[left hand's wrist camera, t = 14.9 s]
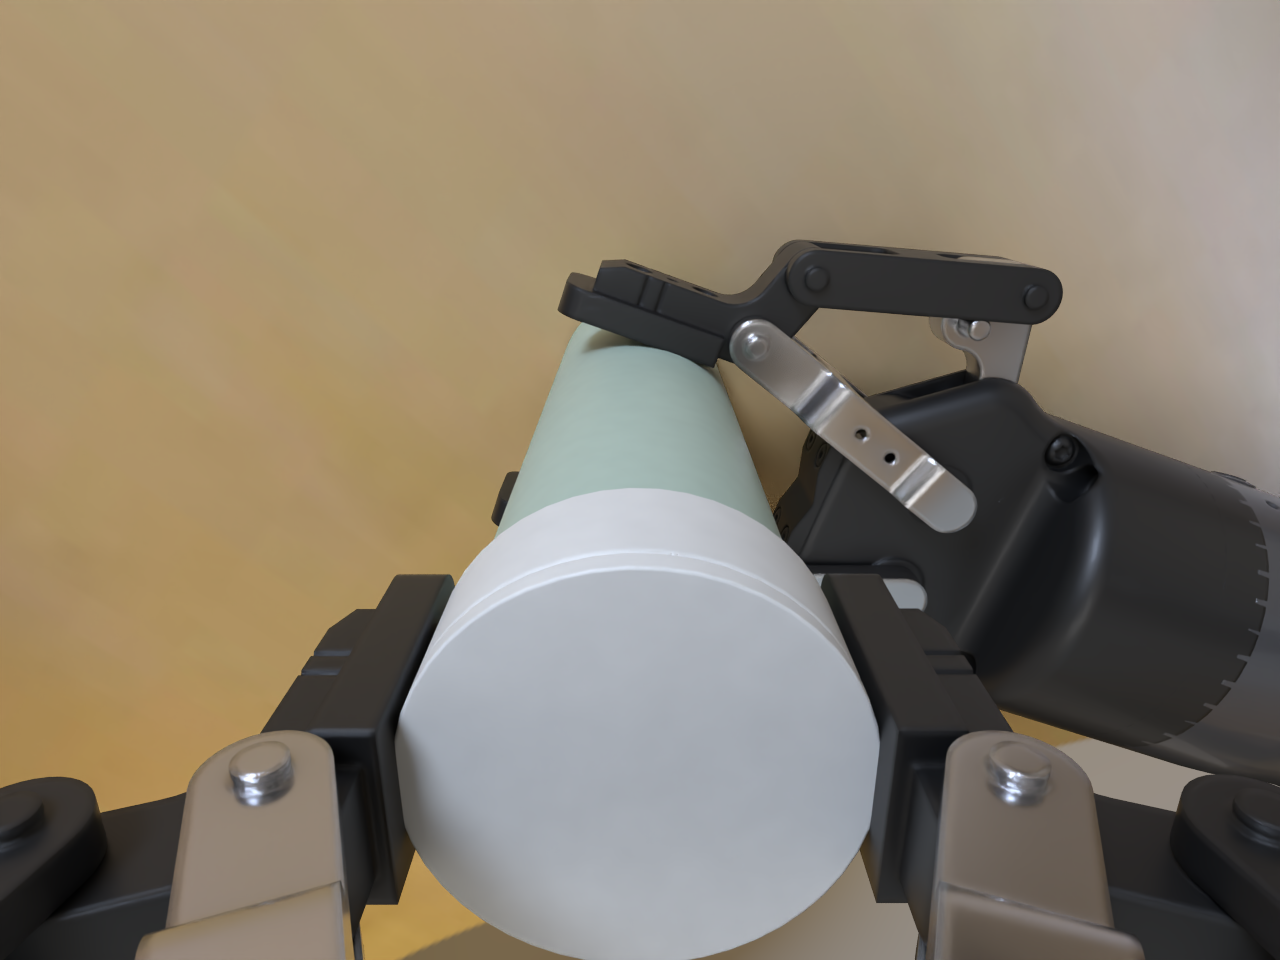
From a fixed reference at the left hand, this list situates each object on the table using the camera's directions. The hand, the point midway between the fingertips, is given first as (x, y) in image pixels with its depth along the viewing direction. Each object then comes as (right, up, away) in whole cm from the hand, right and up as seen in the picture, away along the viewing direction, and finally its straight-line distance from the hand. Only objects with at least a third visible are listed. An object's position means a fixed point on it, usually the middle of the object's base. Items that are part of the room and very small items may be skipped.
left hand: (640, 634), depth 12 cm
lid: (0, -1, -3) cm, 3 cm away
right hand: (-3, +4, +8) cm, 10 cm away
